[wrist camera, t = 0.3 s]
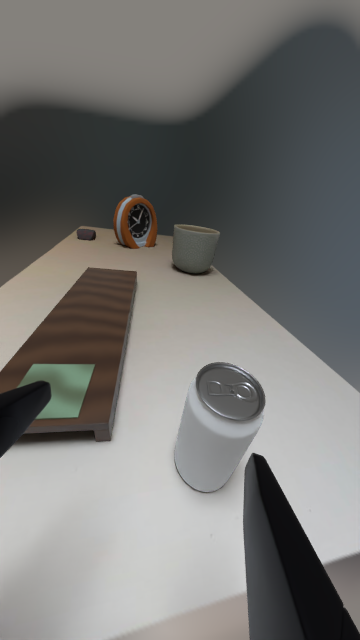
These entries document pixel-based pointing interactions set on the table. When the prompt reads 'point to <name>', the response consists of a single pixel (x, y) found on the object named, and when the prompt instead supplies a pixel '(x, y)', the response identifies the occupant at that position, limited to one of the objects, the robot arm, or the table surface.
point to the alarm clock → (135, 222)
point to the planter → (194, 248)
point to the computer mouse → (86, 234)
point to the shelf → (79, 354)
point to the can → (217, 424)
